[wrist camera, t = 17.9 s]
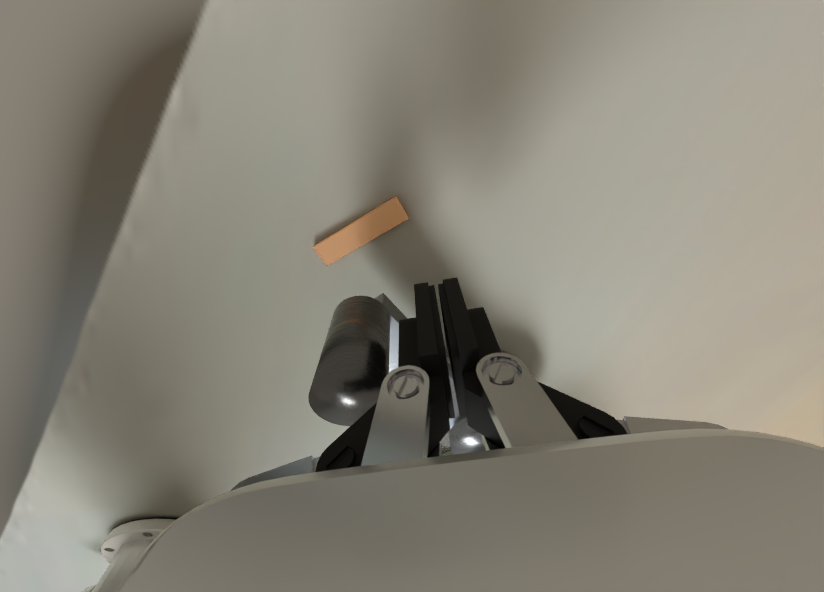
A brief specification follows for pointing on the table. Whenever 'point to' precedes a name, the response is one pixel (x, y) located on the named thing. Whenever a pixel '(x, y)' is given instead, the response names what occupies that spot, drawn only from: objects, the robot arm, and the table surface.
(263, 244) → the table surface
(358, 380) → the crank
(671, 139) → the table surface
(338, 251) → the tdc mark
